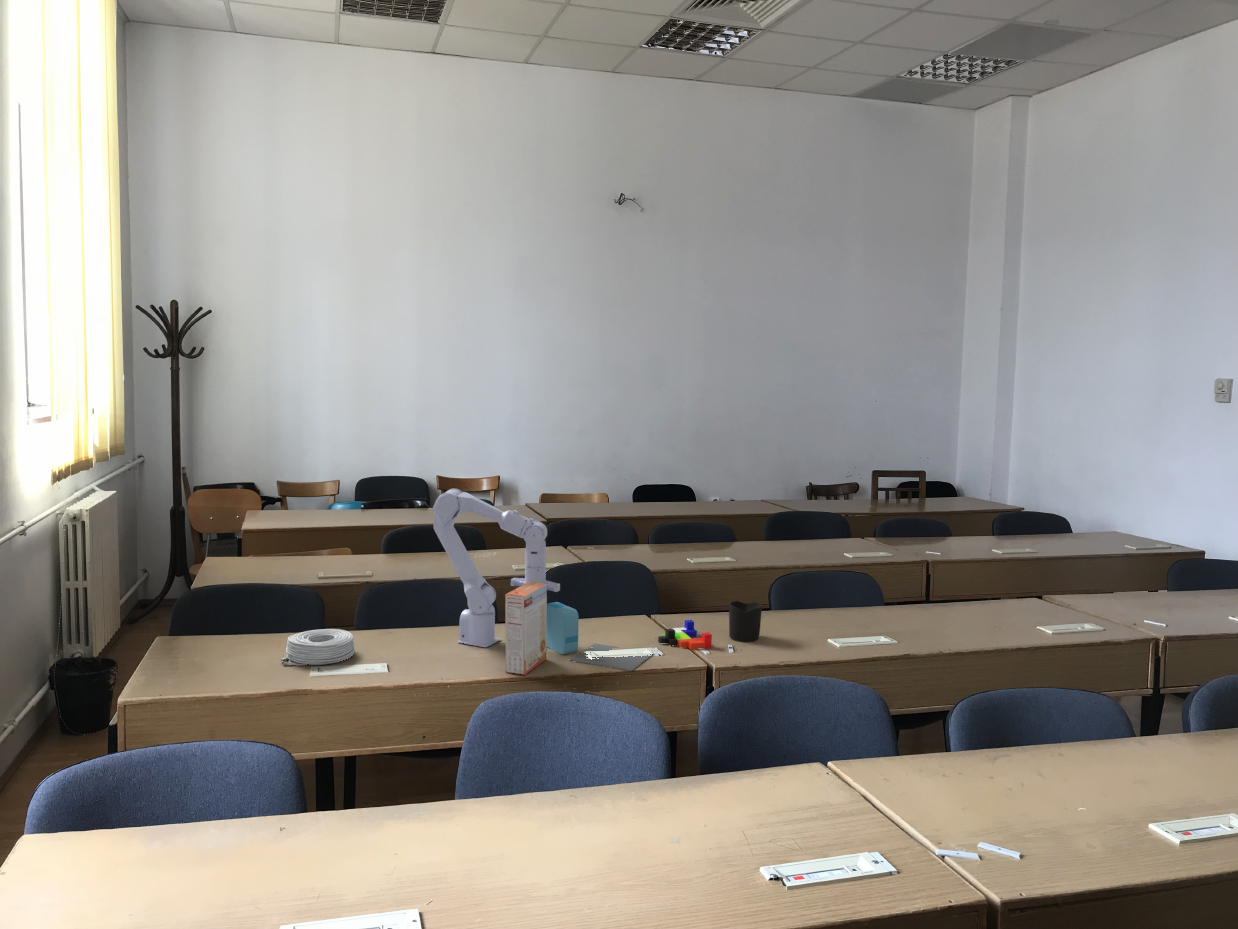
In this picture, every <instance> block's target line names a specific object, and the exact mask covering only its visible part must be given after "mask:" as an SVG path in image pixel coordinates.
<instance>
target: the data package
mask: <svg viewBox="0 0 1238 929" xmlns="http://www.w3.org/2000/svg"><path fill="white" fill-rule="evenodd" d="M579 619H580V618H579V613H578V611H577V609H575V608H573V607H571V606H570V605H566V604H564V603H561V602H559V601H555V602H549V603H547V648H548V647H549V648H548V649H550V648H551V649H550V650H552V649H553V650H552V651H554V650H555V651H554V652H556V651H557V652H556V653H558V652H559V654H560V653H561V654H560V655H562V654H563V655H567V654H568V655H569V654H573V653H577V651H578V650H579Z"/></svg>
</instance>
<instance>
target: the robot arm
mask: <svg viewBox="0 0 1238 929" xmlns="http://www.w3.org/2000/svg"><path fill="white" fill-rule="evenodd" d="M432 510H433V530H434V532H435V534H436V536H437V538H438V540H439V542H440V543H441V545H442V547H443V549H444V551H445V552H446V555H447V556H448V558H449V560H450V563H452V566H453V568H454V570H455V571H456V573H457V575H458V576H459V579H460V581H461V582H462V583H463V589H464V590H463V591H464V594H465V596H466V599H467V600H466V601H467V607H468V609H467V608H465V609H464V610H462V612H461V614H460V616H459V624H458V625H459V639H458V640H457V643H458V644H463V643H464V645H469V646H475V647H482V648H488V647H490V646H492V645H494V644H495V643H498V642H499V641H501V640H502V638H500V637H495V636H496V635H495V634H496V633H495V631H496V630H495V628H496V627H495V626H496V624H495V622H496V620H495V619H496V617H495V616H496V610H495V607H494V605H493V603H494V602H495V601H496V598H497V592H496V590H495V588H494V587H493V586H491V584H489V583H488V582H487V580H486V579H485V578H484V577H483V575H481V574H480V572H479V570H478V569H477V567H476V565H475V563H474V562H473V560H472V558H471V556H470V554H469V551H468V550H467V549H466V546H465V545H464V543H463V541H462V538H461V537H460V535H459V534H458V531H457V530H456V528H455V526H454V525H455V522H456V520H457V516H458V515H459V514H463V513H468V512H470V513H471V512H473V513H474V514H477V515H480V516H482V517H485V518H487V519H489V520H491V521H494V522H496V523H498V525H499V527H500V529H501V530H503V531H505V532H507V533H509V534H512V535H514V536H516V537H518V538H519V539H523V540H524V541H525V552H524V558H525V559H524V561H525V562H524V578H523V577H513V578H511V579H510V586H511V587H520V586H522V585H524V584H526V583H527V582H535V583H544V584H547V591H551V592H555V593H558V592H559V591H561V583H557V582H554V581H550V580H546V578H547V577H546V575H547V574H546V572H547V570H546V568H547V548H546V547H547V546H546V545H547V543H546V538H547V537H548V528H547V526H546V524H545V523H543V522H542V521H540V520H535V519H534V518H532V517H531V518H528V517H526V516H524V515H522V514H519V511H518V510H516V509H514V510H511V509H509V510H505V511H502V510H501V509H499V508H497V507H495V506H494V505H491V504H490V503H487V502H486V501H484V500H482V499H480V498H478V497H476V496H474V495H472V494H471V493H468V492H467V491H462V490H460V489H458V488H450V489H448V490H447V491H445V492H444V493H441V494H440V495H439V496H438V497H437V498H436V499H435V502H434V504H433V506H432Z"/></svg>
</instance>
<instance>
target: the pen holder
mask: <svg viewBox="0 0 1238 929" xmlns="http://www.w3.org/2000/svg"><path fill="white" fill-rule="evenodd" d="M728 609H729V610H728V614H729V615H728V622H729V623H728V628H729V630H728V631H729V632H728V633H729V637H730V639H731V640H733V641H736V642H741V643H743V642H744V643H751V642H756V641H758V640H759V638H760V632H761V625H762V624H761V622H762V609H763V605H762V603H760V602H759V601H758V602H757V601H753V602H747V603H746V602H742V601H739V600H734V601H733V600H732V601H730V602H729V606H728Z"/></svg>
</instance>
